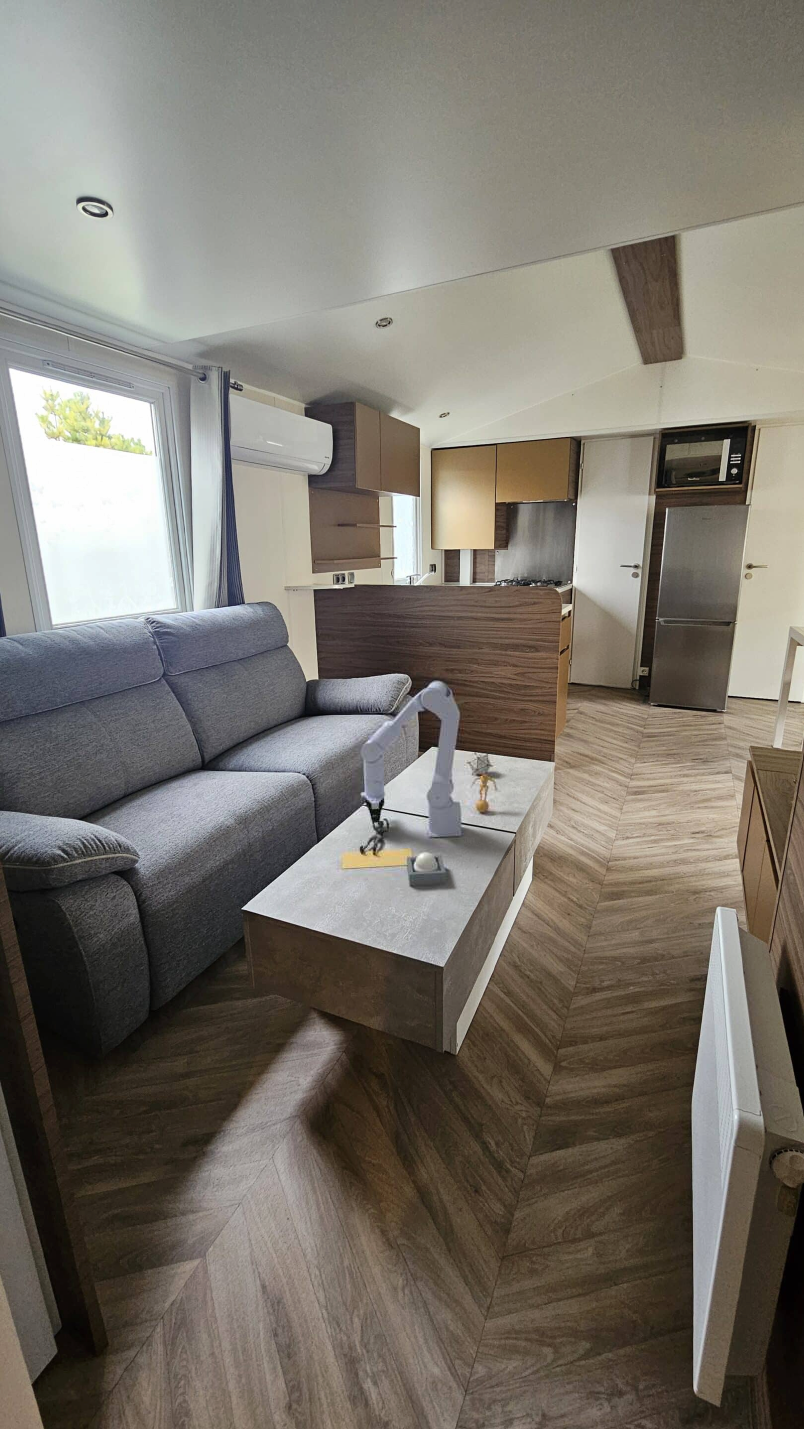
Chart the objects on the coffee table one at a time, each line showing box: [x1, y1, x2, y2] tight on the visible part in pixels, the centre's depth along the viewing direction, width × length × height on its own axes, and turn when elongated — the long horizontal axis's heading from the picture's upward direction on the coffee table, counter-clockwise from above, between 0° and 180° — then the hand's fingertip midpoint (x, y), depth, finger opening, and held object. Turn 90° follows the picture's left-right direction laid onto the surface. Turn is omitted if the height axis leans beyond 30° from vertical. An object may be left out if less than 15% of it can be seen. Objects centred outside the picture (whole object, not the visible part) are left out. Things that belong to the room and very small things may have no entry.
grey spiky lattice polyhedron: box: [466, 752, 494, 776], centre depth 224 cm, size 9×8×10 cm
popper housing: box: [406, 854, 447, 887], centre depth 156 cm, size 9×9×3 cm
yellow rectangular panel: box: [341, 848, 414, 870], centre depth 166 cm, size 19×9×1 cm, turn 94°
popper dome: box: [414, 851, 438, 872], centre depth 155 cm, size 6×6×5 cm
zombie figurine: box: [359, 815, 390, 855], centre depth 174 cm, size 5×7×15 cm
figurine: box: [470, 773, 498, 813], centre depth 193 cm, size 8×6×12 cm
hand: (375, 821), depth 185 cm, fingers closed
